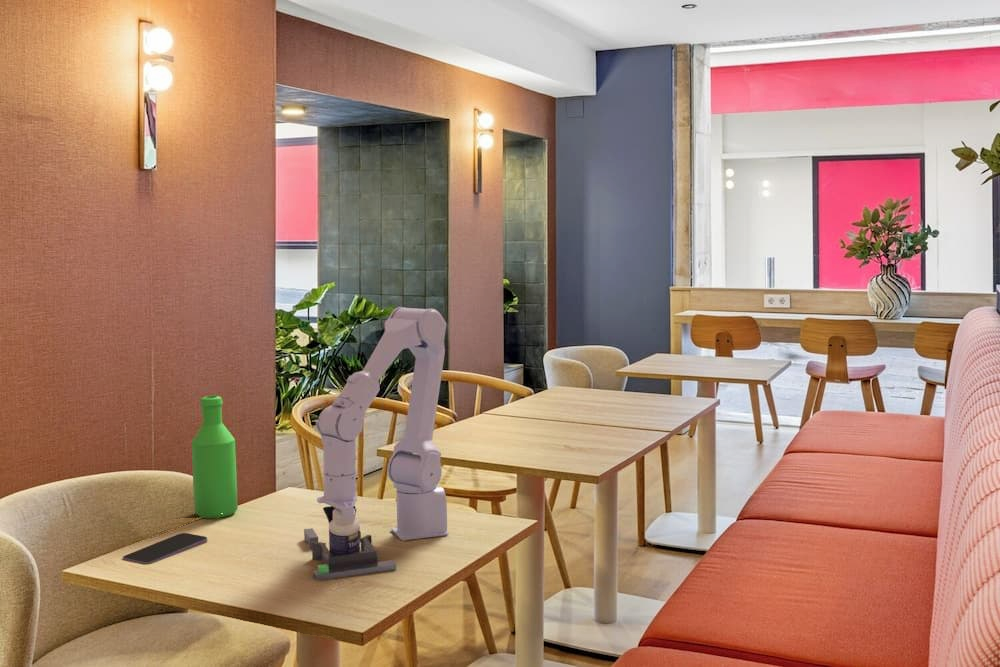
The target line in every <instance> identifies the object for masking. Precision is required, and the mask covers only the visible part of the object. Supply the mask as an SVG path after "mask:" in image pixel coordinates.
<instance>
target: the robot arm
mask: <svg viewBox="0 0 1000 667" xmlns="http://www.w3.org/2000/svg"><path fill="white" fill-rule="evenodd" d="M446 329H447V322H446V321H445V319H444V317H443V315H442V314H441V313H440V312H439V311H438V310H437V309H435V308H410V307H403V306H398V307H396V308H394V309H393V310H392V311H391V313H390V315H389V317H388V318H387V319H386V320H385V322H384V332H383V335H382V336H381V338H380V339H379V341H378V343H377V345H376V347H375V348H374V350H373V352H372V354H371V355H370V358H368V361H367V362H366V364H365V365H364V368H363V370H361V371H357V372H354V373H352V375H349V376H348V377H347V379H346V384H345V385H344V387H343V388H342V390H341V391H340V393H339V394H338V396H336V398H335V399H334V401H333V403H332V404H331V405H329V406H328V407H325V408H324V409H323V410H322V411H321V412H320V413H319V416H318V420H317V421H316V422H315V426H316V430H317V432H318V434H319V435H320V439H321V444H322V448H323V495H322V496H317V498H316V499H317V500H316V501H317V503H318V504H325V505H328V506H325V507H323V508H322V509H323V512H324V514H325V516H326V519H327V521H328V525H329V524H330V522H331V521H332V520H333V510H334V509H335V508H337V509H340V510H341V517H342V518H349V517H354V509H355V513H357V508H356V506H355V505H356V502H357V501H358V496H357V490H356V488H357V483H356V482H357V481H356V480H357V479H356V478H357V473H356V472H357V470H356V469H357V466H356V465H357V464H356V460H357V459H356V453H357V452H356V450H357V449H356V444H357V443H356V440H357V439H356V438H357V437H358V436H359V435H360V434H361V433H362V431H363V428H364V419H365V418H366V412H367V410H368V409H369V408H370V406H371V404H372V403H373V401H374V399H375V398H376V397H377V395H378V394H379V392H380V389H381V388H380V383H379V381H380V379H381V378H382V376H383V375H384V374H385V372H386V371H387V370H388V369H389V368H390V366H391V365H392V363H393V362H395V360H396V358H397V357H398V356H399V354H400V353H401V352H402V351H403V350H404V349H409V351H410V353H412V355H413V356H414V357H415V359H414V360H415V362H414V368H413V374H412V382H411V388H410V396H409V403H408V407H407V408H408V409H407V416H406V423H405V429H404V430H405V431H404V435H403V436H404V437H402V439H400V440H399V441H398V442H397V443H396V444H395V445H394V446H393V452H392V455H391V457H390V459H389V461H388V464H387V471H386V472H387V477H388V478H389V480H390V481H391V482H392V483H393V488H394V489H396V490H395V491H396V492H395V493H396V494H395V495H396V524H397V525H396V526H392V527H390V528H391V531H392V532H393V533H394V534H395V535H396V537H398V539H399V540H400V541H402V542H403V541H411V540H419V539H425V538H426V539H427V538H434V537H442V536H448V535H449V532H448V505H447V496H446V492H445V489H444V488H443V487H442V486H440V485H438V484H439V483H440V482H441V477H442V471H443V470H442V464H441V456H442V453H441V450H440V449H439V448H438V447H437V446H436V444H435V443H434V441H433V436H434V429H435V425H436V423H435V422H436V416H437V408H438V402H439V397H440V396H439V395H440V389H441V381H442V376H443V375H442V374H443V367H444V362H445V360H444V359H445V355H446V354H445V353H446V348H445V338H446V337H445V336H446Z"/></svg>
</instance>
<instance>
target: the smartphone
mask: <svg viewBox="0 0 1000 667" xmlns="http://www.w3.org/2000/svg"><path fill="white" fill-rule="evenodd" d="M207 542H208V537H207V536H205V535H199V534H193V533H188V532H181V533H178V534H175V535H173V536H170V537H168V538H165V539H162V540H160V541H158V542H155V543H153V544H150V545H148V546H146V547H142V548H140V549H137V550H134V551H132V552H131V553H128V554H125V555H123V557H122V560H124V561H128V562H132V563H133V562H134V563H138V564H142V565H151V564H154V563H157V562H160V561H162V560H165V559H167V558H170V557H172V556H176V555H178V554H180V553H183V552H185V551H188V550H191V549H194V548H196V547H199V546H200V545H203V544H206V543H207Z"/></svg>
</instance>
